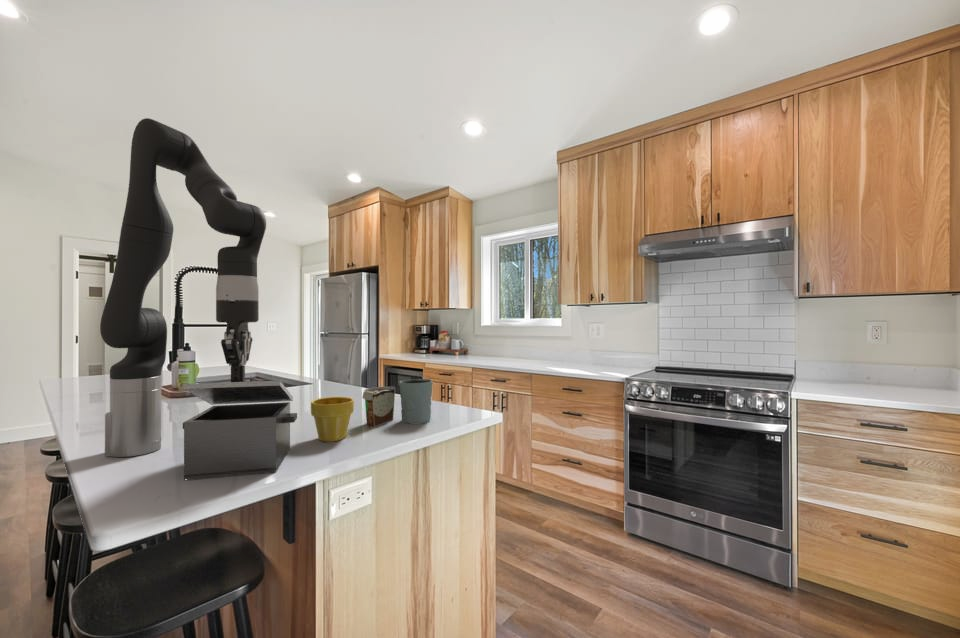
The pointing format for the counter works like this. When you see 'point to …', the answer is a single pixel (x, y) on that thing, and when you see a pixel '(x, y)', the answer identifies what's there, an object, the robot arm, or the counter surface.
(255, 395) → the storage bin lid
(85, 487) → the counter surface
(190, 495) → the counter surface
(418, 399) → the grey green cup
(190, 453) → the grey metal storage bin
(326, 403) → the plant pot
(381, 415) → the food container
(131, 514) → the counter surface
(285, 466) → the counter surface
